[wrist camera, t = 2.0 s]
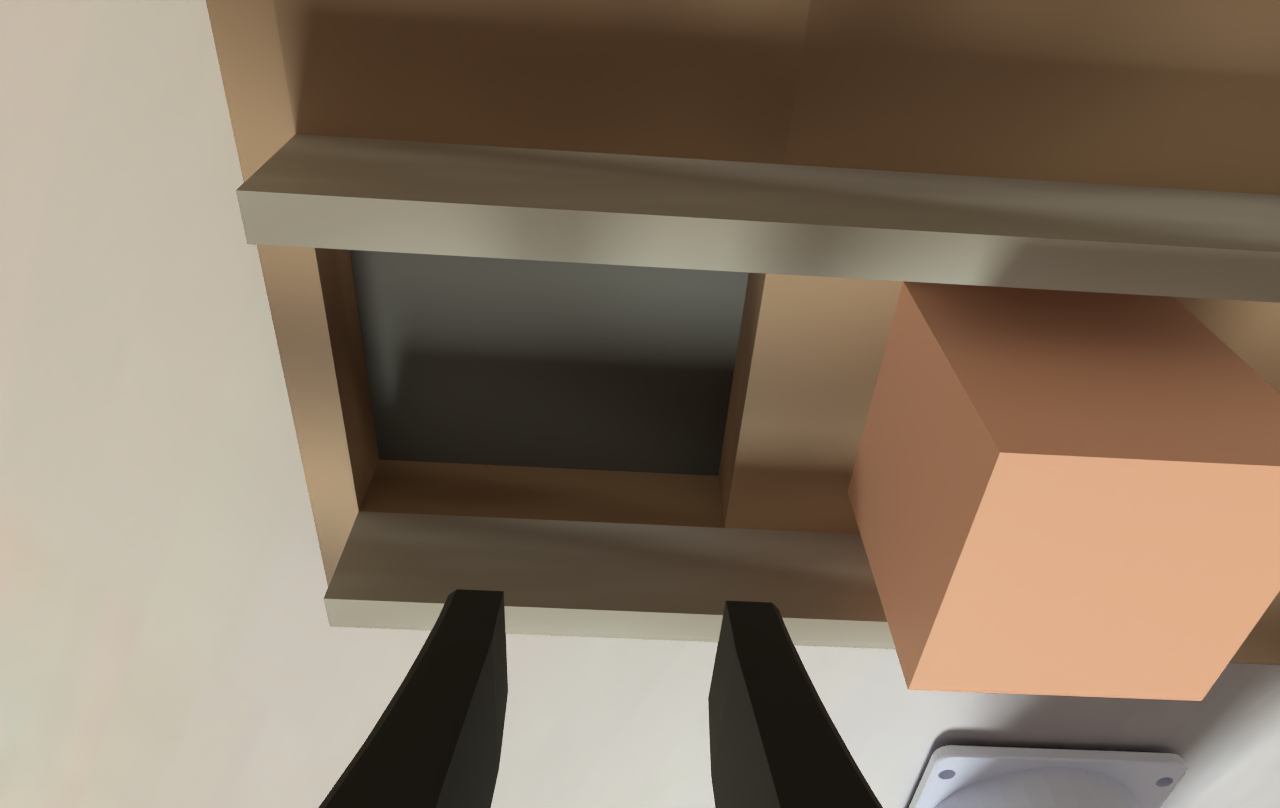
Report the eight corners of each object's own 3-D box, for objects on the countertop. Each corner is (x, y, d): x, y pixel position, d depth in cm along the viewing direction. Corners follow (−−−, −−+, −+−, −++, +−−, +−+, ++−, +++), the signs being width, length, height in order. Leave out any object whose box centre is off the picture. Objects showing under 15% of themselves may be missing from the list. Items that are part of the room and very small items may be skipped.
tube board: (1461, 613, 23) (1615, 764, 20) (358, 566, 22) (303, 716, 19) (1986, 31, 15) (2433, 103, 11) (242, -94, 14) (97, -59, 10)
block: (1076, 502, 18) (1201, 700, 14) (847, 491, 18) (909, 689, 14) (1172, 296, 16) (1364, 470, 11) (903, 281, 15) (999, 453, 11)
